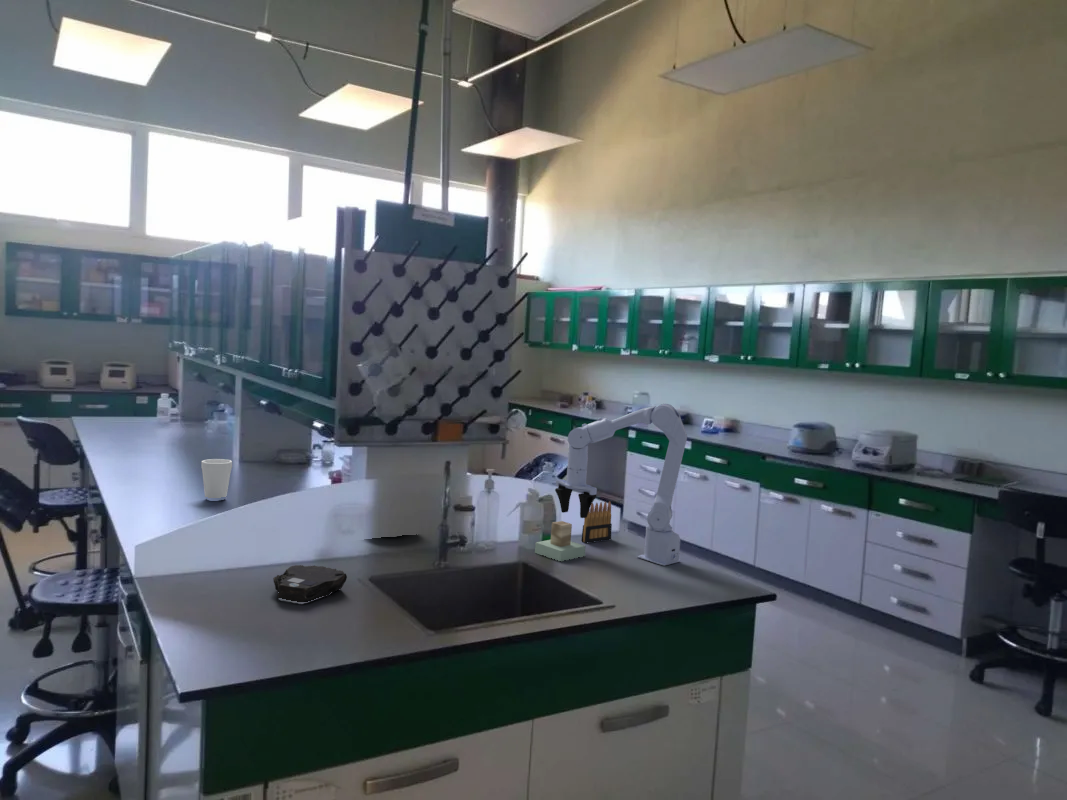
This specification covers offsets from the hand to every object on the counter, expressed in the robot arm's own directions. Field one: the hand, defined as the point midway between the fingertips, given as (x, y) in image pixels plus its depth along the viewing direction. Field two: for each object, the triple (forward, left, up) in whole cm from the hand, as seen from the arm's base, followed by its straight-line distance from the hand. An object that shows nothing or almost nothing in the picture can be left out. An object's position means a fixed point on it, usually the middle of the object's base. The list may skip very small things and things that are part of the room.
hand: (574, 514), depth 222 cm
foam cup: (+105, +63, -10) cm, 123 cm away
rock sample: (+5, +80, -10) cm, 81 cm away
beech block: (-3, +8, -7) cm, 11 cm away
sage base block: (-3, +8, -10) cm, 13 cm away
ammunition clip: (+2, -13, -10) cm, 17 cm away
